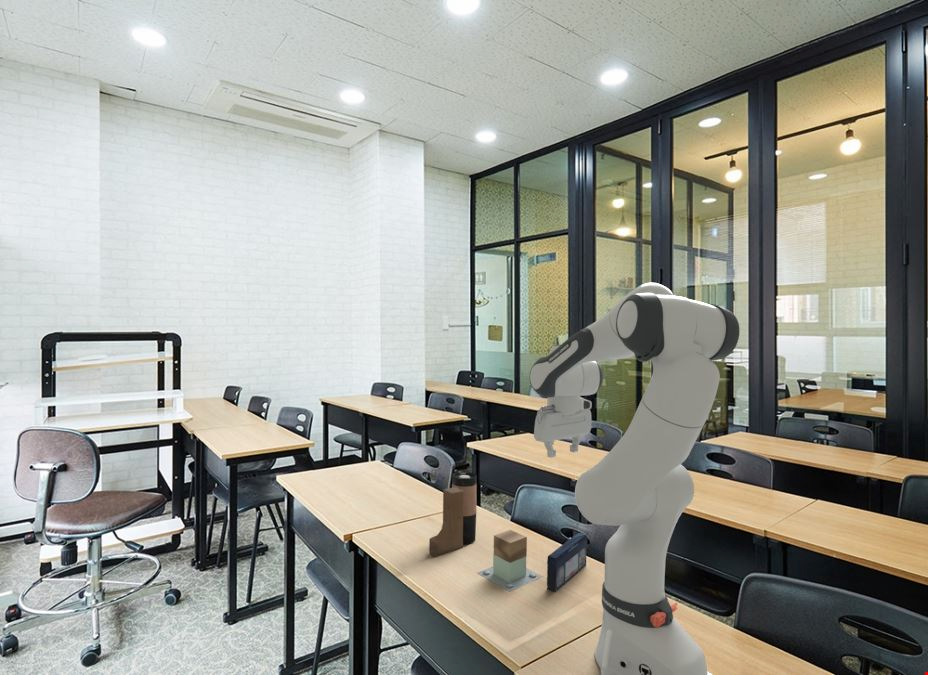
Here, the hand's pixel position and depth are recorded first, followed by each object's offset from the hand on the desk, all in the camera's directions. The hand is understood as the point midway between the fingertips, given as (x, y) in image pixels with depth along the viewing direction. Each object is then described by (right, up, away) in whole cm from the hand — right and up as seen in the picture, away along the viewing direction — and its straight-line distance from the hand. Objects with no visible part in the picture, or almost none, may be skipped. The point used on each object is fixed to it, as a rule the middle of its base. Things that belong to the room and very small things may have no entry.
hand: (562, 454), depth 137 cm
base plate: (-15, -31, -7) cm, 35 cm away
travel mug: (-27, -31, +18) cm, 45 cm away
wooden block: (-32, -31, +9) cm, 46 cm away
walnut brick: (-15, -25, -7) cm, 30 cm away
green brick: (-15, -30, -7) cm, 34 cm away
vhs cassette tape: (0, -32, -8) cm, 32 cm away
